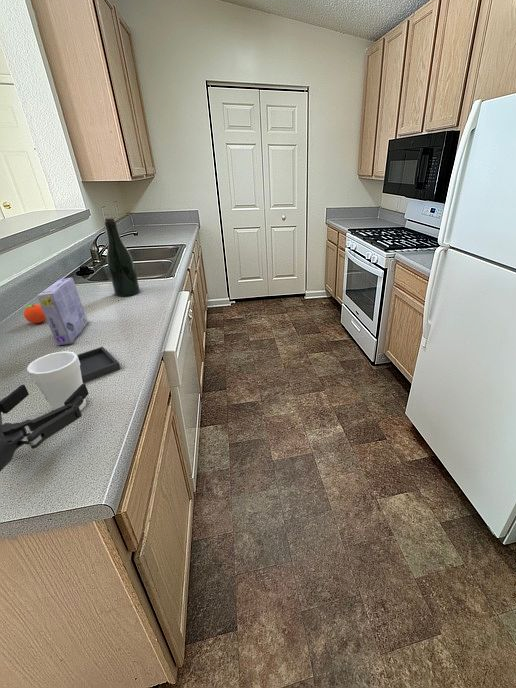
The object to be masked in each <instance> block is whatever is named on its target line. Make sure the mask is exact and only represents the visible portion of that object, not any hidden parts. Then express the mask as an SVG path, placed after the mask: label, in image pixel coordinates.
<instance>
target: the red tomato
mask: <svg viewBox="0 0 516 688" xmlns="http://www.w3.org/2000/svg"><path fill="white" fill-rule="evenodd" d="M24 308H25V309H24ZM23 309H24V311H23V316H24V318H25V319H26V321H28V322H29V323H31V324H32V323H33V324H40V323H42V322H44V321H45V320H47V319H46V317H45V314H44V312H43V310H42V307H41V305H40V304H37V303H36V304H30V305H29V304H28V305H26V306H24V307H23ZM21 312H22V310H20V314H21Z"/></svg>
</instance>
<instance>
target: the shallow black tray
mask: <svg viewBox="0 0 516 688" xmlns="http://www.w3.org/2000/svg"><path fill="white" fill-rule="evenodd" d="M76 355H77V356H78V359H79V361H80V370H81V376H82V382H83V384H85V383H88V382H90V381H92V380H95V379H97V378H100V377H102V376H105V375H108V374H110V373H113V372H116V371H119V370H120V369H121V366H120V362H119V361H118V360H117V359H115V357H114V356H113V355H112V354H111V353H110V352H109V351H108V350H107V349H106V348H105V347H104V346H100V347H97V348H96V347H95V348H93V349H91V350H87V351H85V352H82V353H78V354H76Z"/></svg>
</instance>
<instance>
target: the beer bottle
mask: <svg viewBox="0 0 516 688" xmlns="http://www.w3.org/2000/svg"><path fill="white" fill-rule="evenodd" d="M104 226H105V230H106V235H107V242H108V243H107V251H106V263H107V267H108V272H109V276H110V280H111V284H112V288H113V292H114V294H115V295H116V296H118V297H128V296H134V295H136V294H139V292H141V291H140V290H141V287H140V284H139V279H138V276H137V272H136V268H135V265H134V260H133V258H132V255H131V253H130V252H129V250H128V248H127V247H126V246H125V244H124V242H123V241H122V239H121V236H120V232H119V229H118V223H117V222H116V221H115V218H114V217H107V218H104Z"/></svg>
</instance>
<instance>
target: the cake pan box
mask: <svg viewBox="0 0 516 688" xmlns="http://www.w3.org/2000/svg"><path fill="white" fill-rule="evenodd" d="M36 298H37V301H38V302H39V305H41V307H42V310H43V312H44V314H45V317H46V319H45V320H46V321H47V325H48V326H49V329H50V331H51V334H52V336H53V338H54V341H55V344H56V345H57V346H63V345H72V344H73V343H74V341H75V340H76V338H77V337H78V336H80V335H81V333H82V332H83V331H84V328H85V327H86V325H87V324H88V323H89V321H88V317H87V314H86V312H85V308H84V306H83V304H82V301H81V298H80V295H79V292H78V289H77V285H76V283H75V280H74V278H73V277H67V278H61V279H58V280H57V281H55V282H54V283H53V284H51V285H50V286H48V287H46V288H45V289H44V290H43V291H41V292H40V293H39V294H37V295H36Z"/></svg>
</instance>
